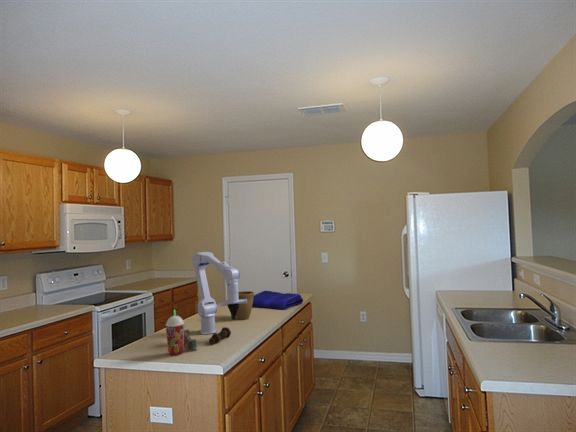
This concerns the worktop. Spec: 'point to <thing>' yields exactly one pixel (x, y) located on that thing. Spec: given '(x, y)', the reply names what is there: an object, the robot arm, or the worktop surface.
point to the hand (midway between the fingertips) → (233, 318)
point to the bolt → (220, 335)
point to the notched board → (189, 341)
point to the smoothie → (175, 335)
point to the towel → (276, 300)
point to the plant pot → (245, 305)
